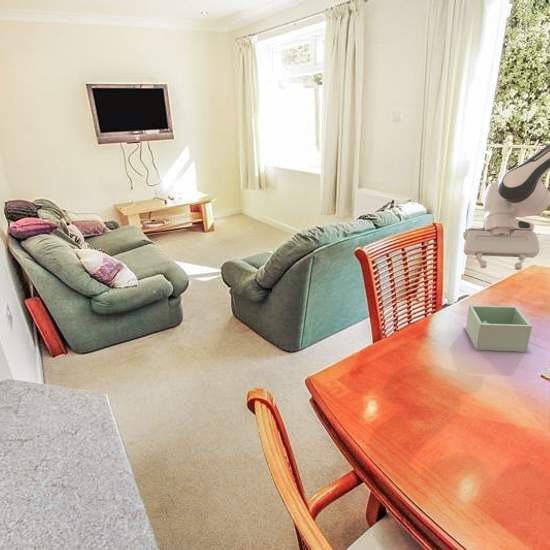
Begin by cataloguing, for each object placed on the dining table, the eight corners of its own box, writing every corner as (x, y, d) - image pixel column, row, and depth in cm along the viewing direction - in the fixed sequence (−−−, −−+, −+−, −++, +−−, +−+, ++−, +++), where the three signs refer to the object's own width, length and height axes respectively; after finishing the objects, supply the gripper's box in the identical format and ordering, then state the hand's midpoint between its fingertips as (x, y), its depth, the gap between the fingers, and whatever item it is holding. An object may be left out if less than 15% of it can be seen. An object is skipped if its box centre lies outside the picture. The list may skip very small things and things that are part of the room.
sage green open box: (511, 330, 120) (516, 306, 116) (526, 351, 109) (532, 326, 106) (465, 328, 122) (469, 305, 119) (475, 349, 112) (479, 324, 109)
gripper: (464, 223, 119) (464, 262, 115) (540, 223, 113) (542, 266, 108) (461, 231, 125) (461, 270, 121) (533, 233, 118) (535, 274, 114)
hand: (500, 268), depth 114 cm, fingers open, 8 cm apart
